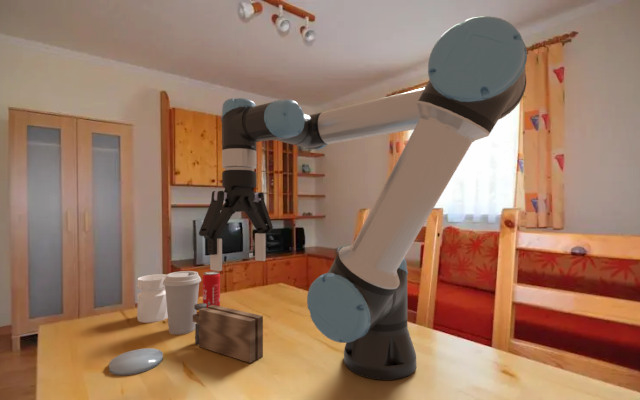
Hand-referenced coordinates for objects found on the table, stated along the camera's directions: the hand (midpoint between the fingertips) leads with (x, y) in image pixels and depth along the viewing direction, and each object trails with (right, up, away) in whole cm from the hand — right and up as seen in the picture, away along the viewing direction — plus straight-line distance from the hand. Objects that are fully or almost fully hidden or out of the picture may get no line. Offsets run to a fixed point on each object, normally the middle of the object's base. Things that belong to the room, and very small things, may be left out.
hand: (239, 265), depth 75 cm
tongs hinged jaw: (-5, -20, +1) cm, 20 cm away
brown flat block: (-4, -20, +3) cm, 21 cm away
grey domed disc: (-21, -20, -4) cm, 29 cm away
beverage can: (-16, -21, +31) cm, 41 cm away
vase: (-32, -21, +25) cm, 45 cm away
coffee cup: (-19, -21, +15) cm, 32 cm away
